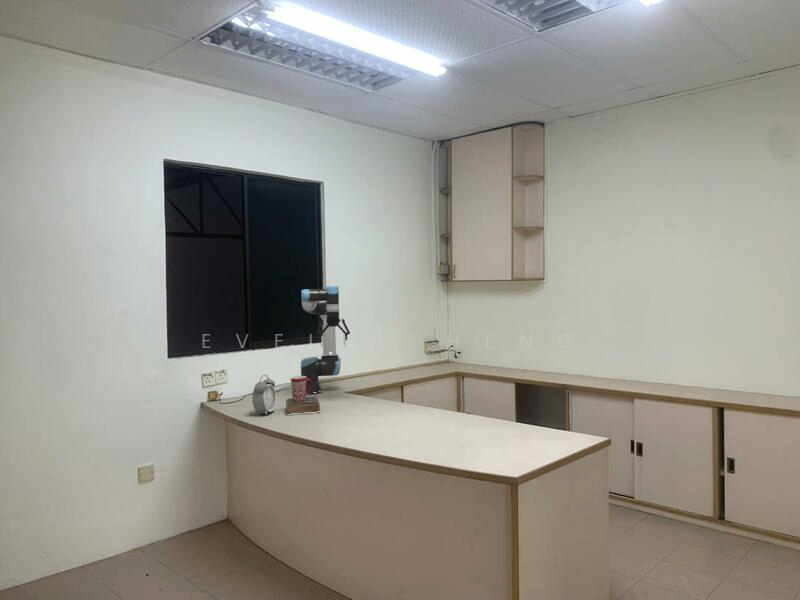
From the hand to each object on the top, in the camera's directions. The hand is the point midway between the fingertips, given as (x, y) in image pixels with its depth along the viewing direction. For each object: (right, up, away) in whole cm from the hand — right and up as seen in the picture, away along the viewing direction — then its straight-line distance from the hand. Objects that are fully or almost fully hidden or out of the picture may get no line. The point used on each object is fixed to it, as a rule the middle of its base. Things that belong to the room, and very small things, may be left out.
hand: (333, 346), depth 336 cm
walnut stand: (-15, -36, -18) cm, 43 cm away
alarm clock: (-36, -36, -24) cm, 56 cm away
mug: (-16, -30, -18) cm, 38 cm away
